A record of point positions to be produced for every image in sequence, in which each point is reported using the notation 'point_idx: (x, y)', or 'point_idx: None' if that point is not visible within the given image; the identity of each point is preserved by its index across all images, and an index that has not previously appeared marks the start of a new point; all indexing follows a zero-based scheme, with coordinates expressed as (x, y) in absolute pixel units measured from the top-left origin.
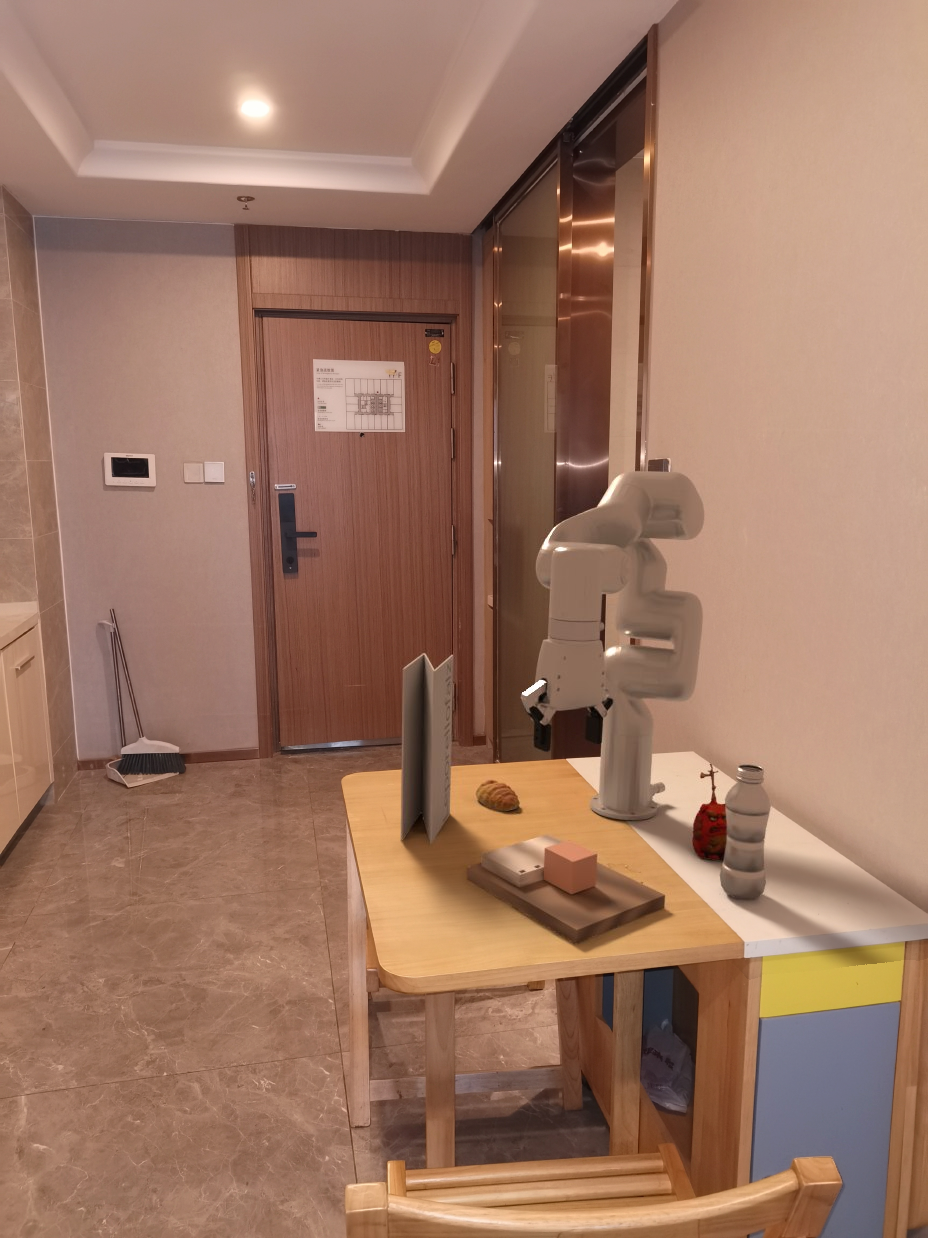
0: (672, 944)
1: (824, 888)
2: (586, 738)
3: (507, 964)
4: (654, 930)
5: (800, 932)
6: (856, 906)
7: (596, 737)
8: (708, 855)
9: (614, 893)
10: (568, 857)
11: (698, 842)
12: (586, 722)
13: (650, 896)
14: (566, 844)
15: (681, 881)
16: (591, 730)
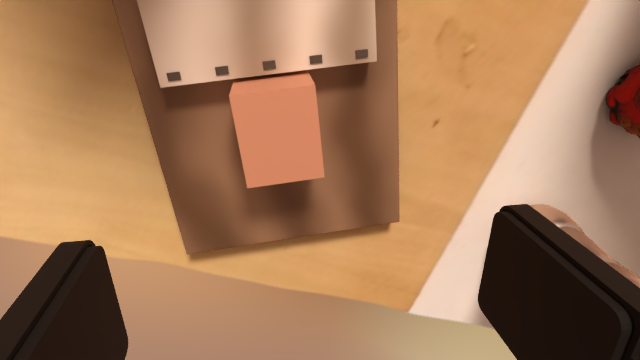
0: (321, 287)
1: (631, 256)
2: (498, 224)
3: (56, 244)
4: (327, 252)
5: (485, 320)
6: None
7: (496, 318)
8: (614, 113)
9: (328, 183)
10: (251, 167)
11: (631, 99)
12: (574, 280)
13: (374, 216)
14: (293, 103)
15: (495, 151)
16: (526, 302)
